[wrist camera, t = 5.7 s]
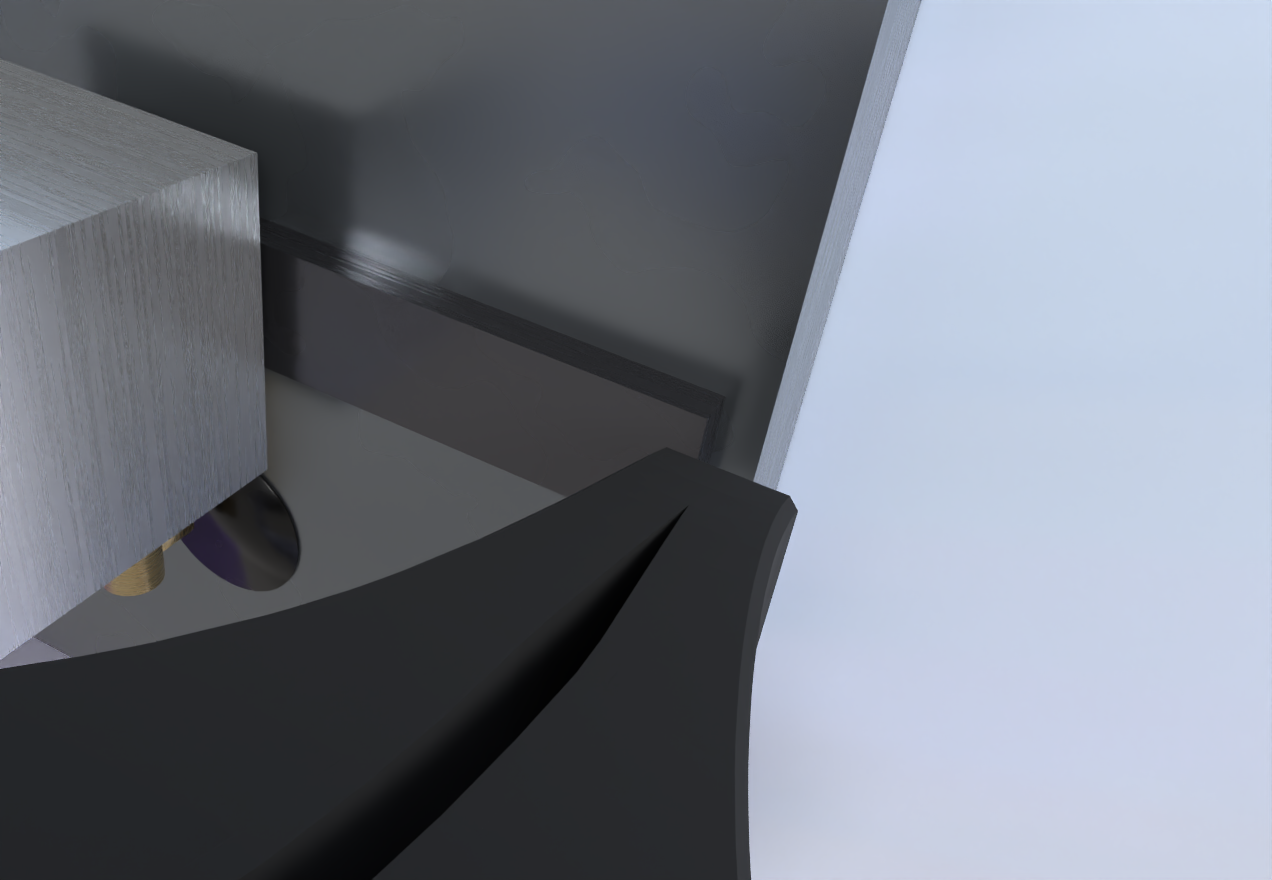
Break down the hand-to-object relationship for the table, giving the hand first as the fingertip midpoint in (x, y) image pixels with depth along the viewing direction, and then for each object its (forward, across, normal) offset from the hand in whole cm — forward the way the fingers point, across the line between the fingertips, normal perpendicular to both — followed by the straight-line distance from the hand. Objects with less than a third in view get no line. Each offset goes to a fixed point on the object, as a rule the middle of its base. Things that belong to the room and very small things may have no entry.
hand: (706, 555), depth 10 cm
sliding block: (+1, +8, +1) cm, 8 cm away
